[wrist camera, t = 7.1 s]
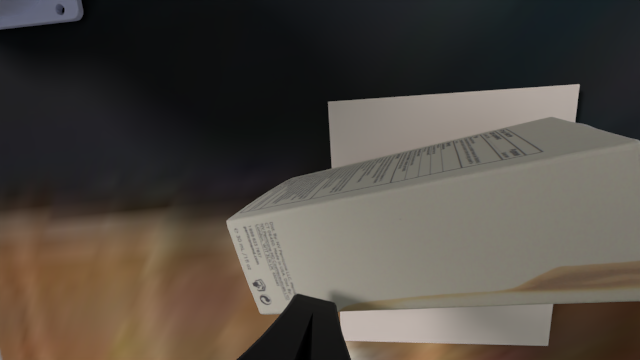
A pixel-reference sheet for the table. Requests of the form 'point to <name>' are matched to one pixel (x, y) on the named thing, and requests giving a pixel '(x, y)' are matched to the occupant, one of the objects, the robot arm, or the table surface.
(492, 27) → the table surface
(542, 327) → the mat
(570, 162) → the skincare box
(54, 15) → the robot arm
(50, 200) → the table surface
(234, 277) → the table surface
